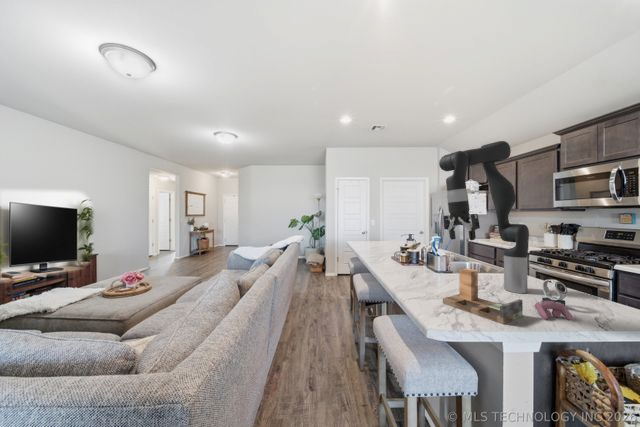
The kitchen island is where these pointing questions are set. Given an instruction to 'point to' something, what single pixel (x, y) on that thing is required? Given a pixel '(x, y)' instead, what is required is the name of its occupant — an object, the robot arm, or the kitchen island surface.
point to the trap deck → (487, 308)
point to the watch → (558, 288)
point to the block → (468, 284)
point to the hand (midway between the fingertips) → (462, 239)
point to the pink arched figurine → (556, 309)
